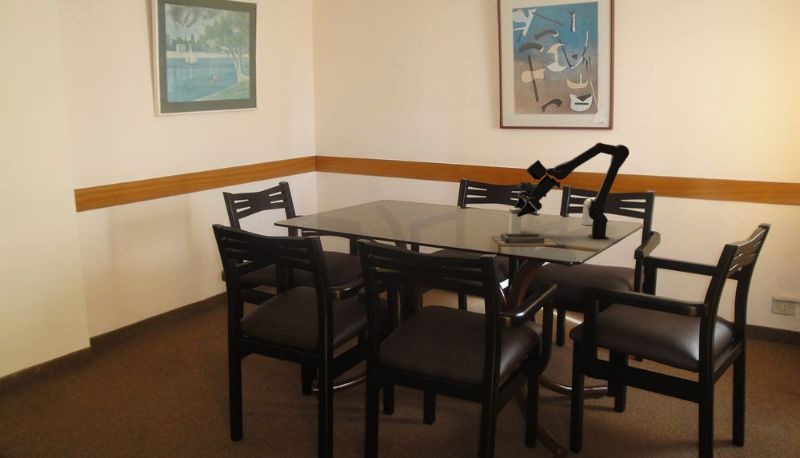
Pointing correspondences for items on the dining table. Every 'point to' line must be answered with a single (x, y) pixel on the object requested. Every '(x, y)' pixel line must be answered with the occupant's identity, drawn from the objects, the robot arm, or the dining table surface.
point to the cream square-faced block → (514, 221)
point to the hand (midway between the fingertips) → (514, 214)
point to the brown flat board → (523, 240)
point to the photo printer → (586, 213)
